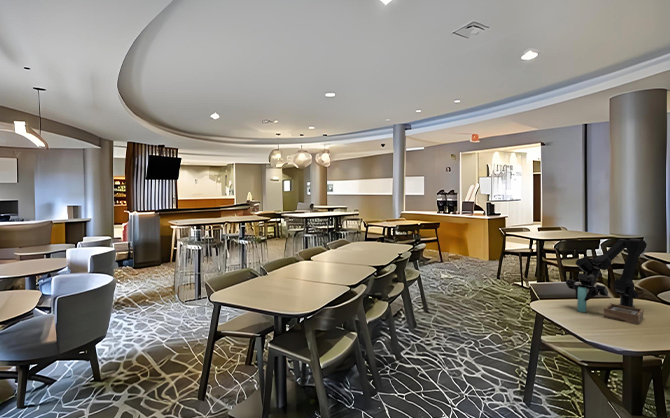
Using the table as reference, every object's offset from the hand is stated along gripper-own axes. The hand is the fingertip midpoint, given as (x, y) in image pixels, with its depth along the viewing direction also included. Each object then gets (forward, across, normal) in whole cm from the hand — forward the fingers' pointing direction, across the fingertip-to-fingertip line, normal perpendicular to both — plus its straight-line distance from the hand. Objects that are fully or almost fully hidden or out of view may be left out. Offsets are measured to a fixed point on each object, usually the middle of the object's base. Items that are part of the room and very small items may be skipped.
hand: (580, 299), depth 189 cm
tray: (-2, +16, +11) cm, 20 cm away
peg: (+4, 0, +6) cm, 7 cm away
